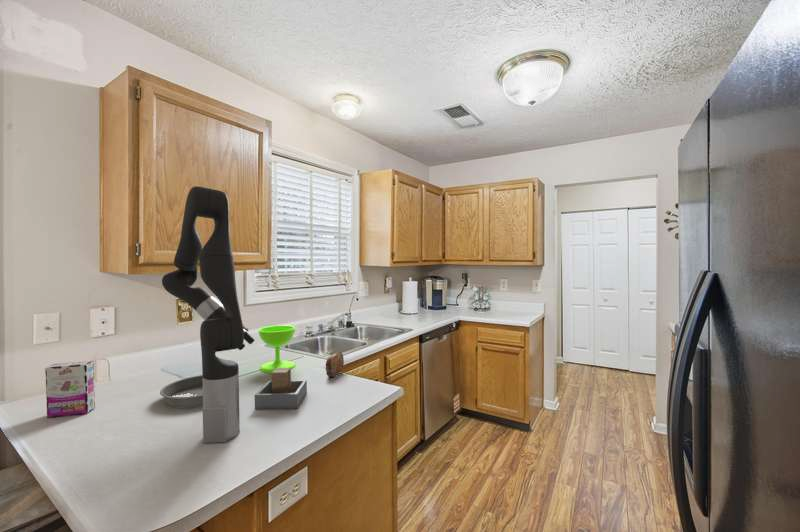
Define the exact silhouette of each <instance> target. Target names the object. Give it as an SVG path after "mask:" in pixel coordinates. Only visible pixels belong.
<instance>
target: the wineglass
mask: <svg viewBox="0 0 800 532" xmlns="http://www.w3.org/2000/svg"><path fill="white" fill-rule="evenodd" d="M295 331H296V327H295V326H294V325H272V326H265V327H261V328H259V329H258V335H259V338H260V340H261V341H263V342H264V343H265V344H266V345H268V346H271V347H275V348H274V349H275V350H274V351H275V353H274V355H275V357H274V358H275V360H274V361H269V362H266V363H263V364H262V365H261V366H260V367H259V369H260V370H259V372H262V373H268V374H269V373H270V374H272V372H273V371H274V370H275V369H276V368H291V370H294V369H295V368H296V367H297V366H296V363H295V362H293V361H290V360H281V356H280V355H281V352H280V351H281V350H280V347H281V346H284V345H286V344H288V343H289V342H290V341H291V340H292V338H293V337H294V335H295Z"/></svg>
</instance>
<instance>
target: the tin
mask: <svg viewBox="0 0 800 532" xmlns="http://www.w3.org/2000/svg"><path fill="white" fill-rule="evenodd" d="M344 359H345V358H344V355H343V353H342V352H335V353H333V354H332V355H330V356H328V357H327V359H326V361H325V371H326V375H327V377H330V378H331V377H333V378H335V377H337V374H338V373H339V374H340V373H341V372H342V371H343V369H344V362H345V361H344ZM339 374H338V375H339Z"/></svg>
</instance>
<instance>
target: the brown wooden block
mask: <svg viewBox="0 0 800 532" xmlns="http://www.w3.org/2000/svg"><path fill="white" fill-rule="evenodd" d="M291 371H292V369H291V368H276V369H275V370H274V371H273V372H272V373H271V381H272V394H276V393H291V380H292V379H291V378H292V377H291V376H292V375H291V373H292V372H291Z"/></svg>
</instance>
